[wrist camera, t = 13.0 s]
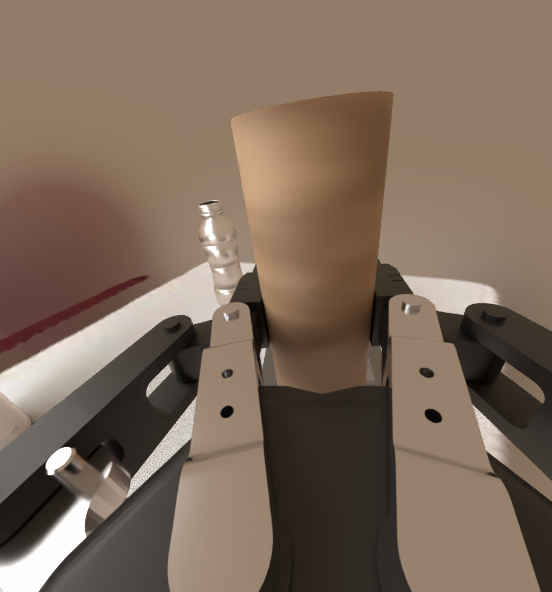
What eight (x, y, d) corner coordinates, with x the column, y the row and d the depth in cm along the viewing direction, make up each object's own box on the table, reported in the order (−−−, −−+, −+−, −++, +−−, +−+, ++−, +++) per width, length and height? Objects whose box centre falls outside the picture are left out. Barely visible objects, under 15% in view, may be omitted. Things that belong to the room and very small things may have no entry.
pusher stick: (282, 463, 12) (208, 115, 5) (287, 393, 16) (247, 125, 8) (367, 468, 12) (422, 79, 4) (353, 394, 15) (372, 106, 8)
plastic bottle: (221, 295, 54) (194, 201, 44) (252, 292, 54) (232, 196, 43) (215, 313, 49) (182, 210, 38) (249, 310, 49) (225, 204, 38)
